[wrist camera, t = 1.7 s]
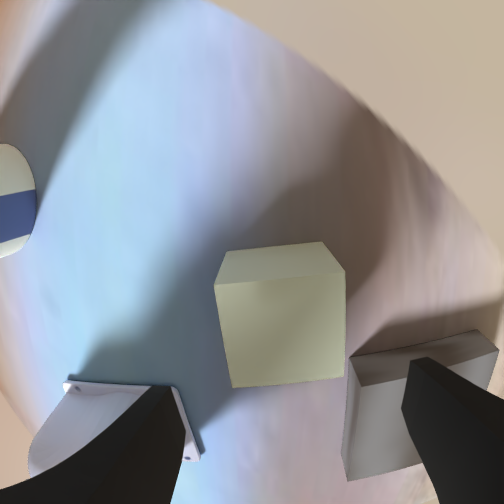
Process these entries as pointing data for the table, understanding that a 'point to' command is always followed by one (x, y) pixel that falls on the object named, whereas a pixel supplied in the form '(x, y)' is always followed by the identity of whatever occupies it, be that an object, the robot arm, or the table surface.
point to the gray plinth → (399, 400)
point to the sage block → (282, 314)
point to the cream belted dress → (15, 200)
